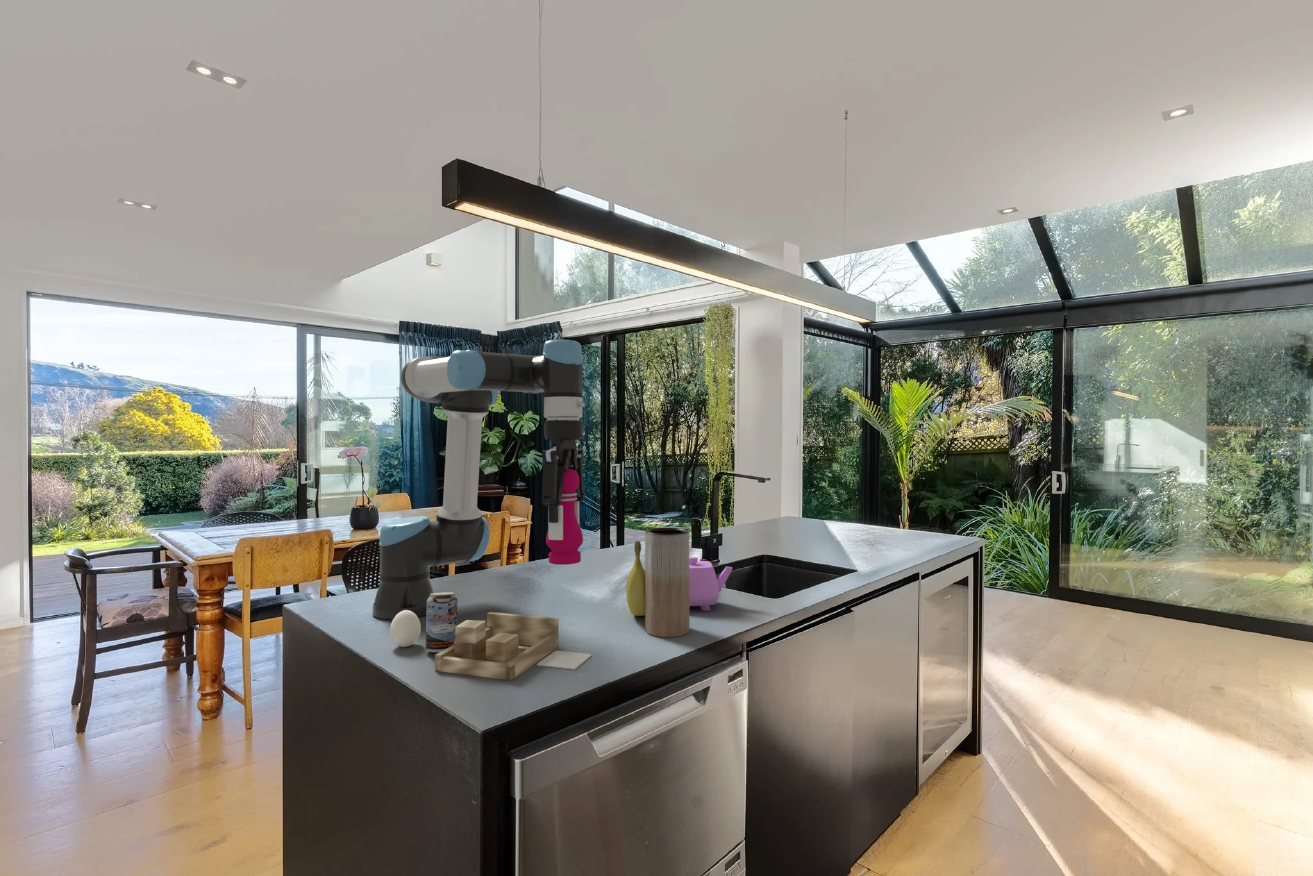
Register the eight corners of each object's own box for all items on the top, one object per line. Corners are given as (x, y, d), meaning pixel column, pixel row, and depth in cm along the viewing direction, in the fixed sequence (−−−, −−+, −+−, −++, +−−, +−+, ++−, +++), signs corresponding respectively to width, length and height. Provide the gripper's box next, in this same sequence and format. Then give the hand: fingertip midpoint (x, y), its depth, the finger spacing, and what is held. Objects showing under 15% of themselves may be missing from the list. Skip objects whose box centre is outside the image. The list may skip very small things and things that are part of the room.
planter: (672, 640, 137) (672, 535, 136) (636, 632, 143) (635, 531, 142) (698, 629, 145) (697, 529, 144) (662, 621, 151) (662, 526, 150)
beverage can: (424, 658, 127) (424, 598, 127) (426, 646, 134) (426, 589, 134) (457, 654, 129) (456, 595, 128) (458, 643, 136) (457, 587, 136)
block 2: (454, 668, 121) (453, 642, 121) (469, 659, 126) (469, 634, 126) (472, 670, 120) (472, 644, 120) (486, 661, 125) (486, 636, 125)
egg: (387, 644, 135) (387, 609, 135) (417, 639, 138) (417, 605, 138) (392, 653, 130) (392, 616, 130) (423, 647, 133) (423, 611, 133)
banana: (631, 602, 168) (631, 527, 167) (653, 602, 167) (653, 527, 167) (624, 629, 145) (624, 542, 145) (650, 629, 145) (649, 542, 145)
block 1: (455, 642, 121) (455, 627, 121) (466, 635, 126) (466, 619, 126) (475, 643, 120) (475, 627, 120) (485, 636, 125) (485, 620, 125)
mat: (536, 665, 122) (536, 664, 122) (555, 651, 130) (555, 650, 130) (574, 670, 120) (574, 668, 120) (591, 655, 128) (591, 654, 128)
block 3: (486, 672, 119) (485, 640, 119) (500, 663, 124) (500, 632, 124) (504, 674, 118) (504, 642, 118) (518, 665, 123) (518, 634, 123)
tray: (434, 670, 120) (434, 639, 120) (490, 639, 138) (490, 612, 138) (511, 680, 115) (511, 647, 115) (558, 646, 133) (558, 618, 133)
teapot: (655, 613, 158) (655, 562, 158) (655, 600, 170) (654, 552, 170) (735, 612, 158) (735, 561, 158) (729, 599, 170) (729, 552, 170)
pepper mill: (551, 558, 129) (550, 459, 129) (586, 558, 128) (586, 459, 128) (541, 565, 121) (540, 460, 121) (578, 565, 121) (578, 460, 121)
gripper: (558, 418, 114) (559, 545, 114) (600, 420, 133) (601, 530, 133) (521, 418, 116) (522, 543, 116) (567, 420, 135) (568, 528, 135)
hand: (564, 536), depth 125 cm, fingers closed on pepper mill, 7 cm apart
